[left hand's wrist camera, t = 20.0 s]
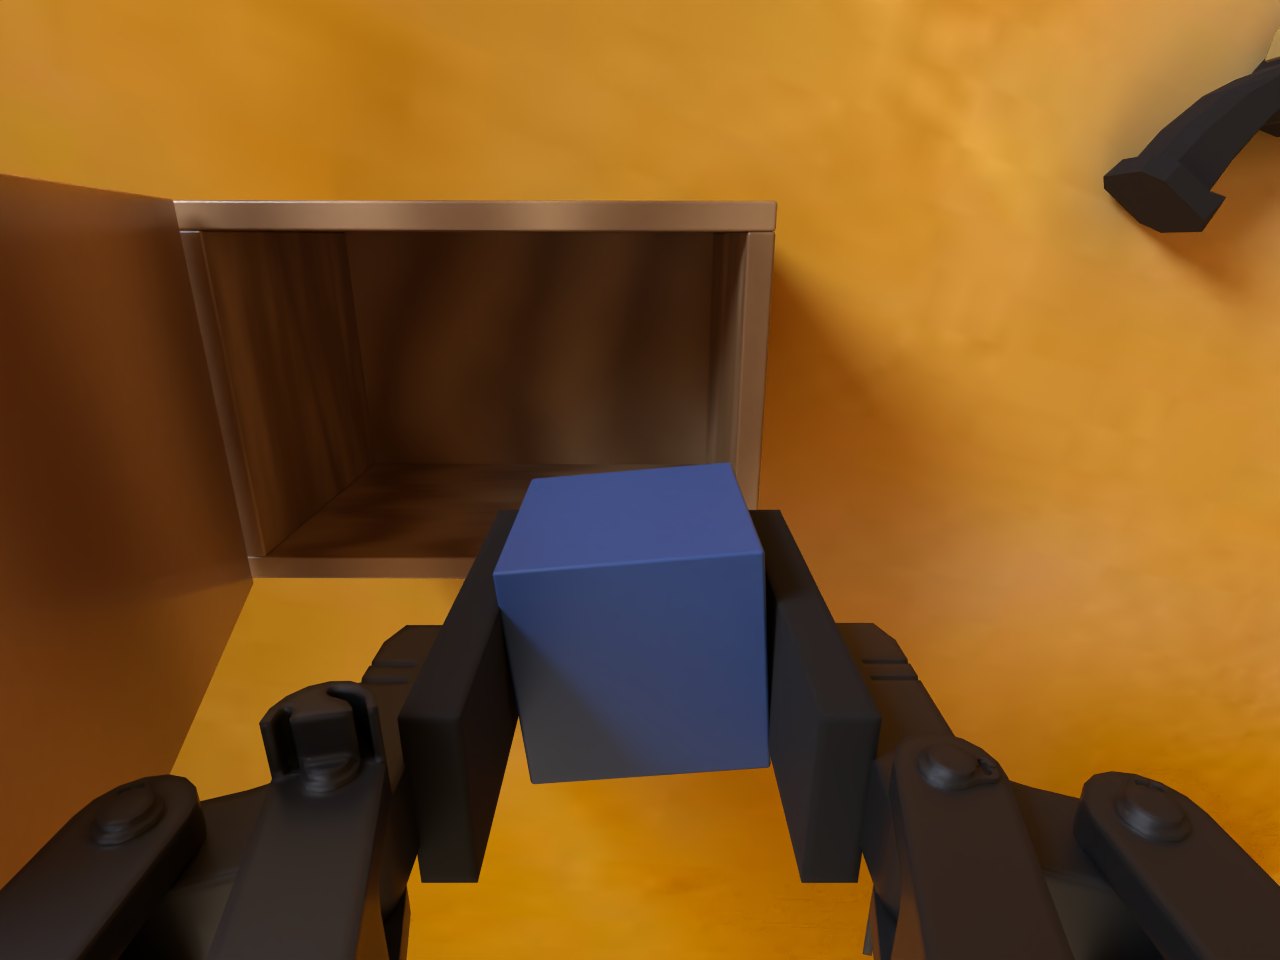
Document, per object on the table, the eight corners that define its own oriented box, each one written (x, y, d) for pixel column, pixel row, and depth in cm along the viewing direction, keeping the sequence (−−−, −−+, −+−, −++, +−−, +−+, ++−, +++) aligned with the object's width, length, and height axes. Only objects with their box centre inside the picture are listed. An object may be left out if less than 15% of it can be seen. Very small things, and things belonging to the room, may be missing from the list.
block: (730, 461, 14) (766, 550, 10) (738, 633, 16) (771, 769, 12) (531, 478, 14) (490, 573, 10) (557, 647, 16) (530, 786, 12)
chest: (731, 212, 30) (778, 200, 20) (719, 474, 34) (753, 580, 24) (331, 212, 30) (166, 199, 20) (367, 473, 34) (246, 578, 24)
